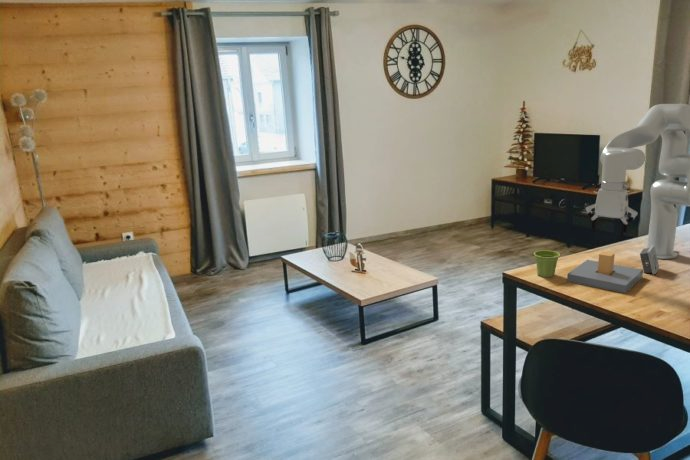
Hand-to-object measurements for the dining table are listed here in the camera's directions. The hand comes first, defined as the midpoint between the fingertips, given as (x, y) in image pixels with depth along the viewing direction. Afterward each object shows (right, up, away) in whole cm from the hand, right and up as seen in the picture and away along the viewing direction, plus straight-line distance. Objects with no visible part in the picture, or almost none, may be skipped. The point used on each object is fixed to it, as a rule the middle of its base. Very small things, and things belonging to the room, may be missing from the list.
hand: (609, 232), depth 189 cm
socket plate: (+1, -18, +5) cm, 18 cm away
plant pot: (-19, -17, +12) cm, 28 cm away
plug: (+1, -18, +5) cm, 18 cm away
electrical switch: (+21, -15, +11) cm, 28 cm away
